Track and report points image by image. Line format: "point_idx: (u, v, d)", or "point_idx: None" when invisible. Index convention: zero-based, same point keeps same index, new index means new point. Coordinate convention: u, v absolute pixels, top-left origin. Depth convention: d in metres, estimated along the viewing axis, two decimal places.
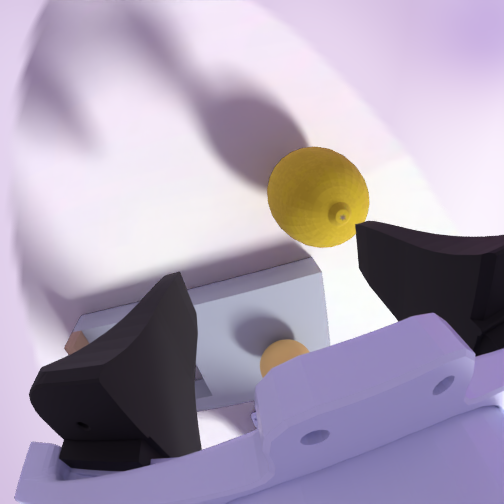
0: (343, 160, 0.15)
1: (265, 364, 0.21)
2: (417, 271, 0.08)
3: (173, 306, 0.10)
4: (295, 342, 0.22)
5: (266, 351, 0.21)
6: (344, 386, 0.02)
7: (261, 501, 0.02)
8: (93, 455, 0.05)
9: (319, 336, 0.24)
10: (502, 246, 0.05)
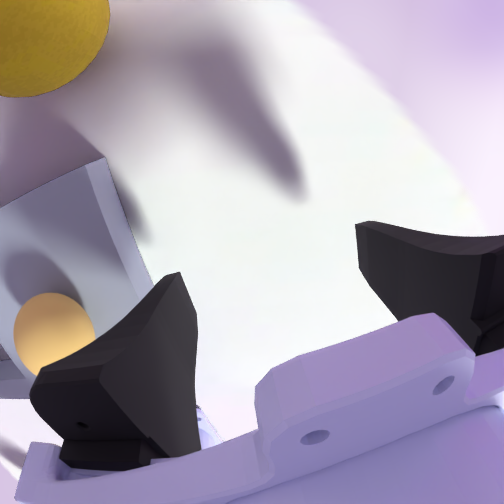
0: None
1: None
2: (417, 271, 0.08)
3: (173, 306, 0.10)
4: (56, 296, 0.11)
5: None
6: (344, 386, 0.02)
7: (261, 501, 0.02)
8: (93, 455, 0.05)
9: (121, 297, 0.13)
10: (502, 246, 0.05)
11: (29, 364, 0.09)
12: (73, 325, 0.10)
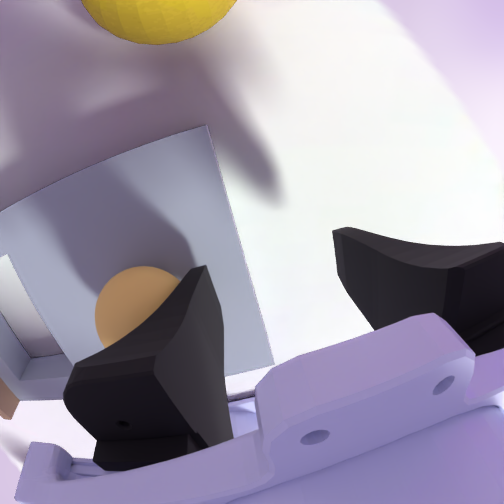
0: None
1: None
2: (388, 281, 0.08)
3: (204, 298, 0.10)
4: (156, 270, 0.11)
5: None
6: (344, 387, 0.02)
7: (261, 501, 0.02)
8: (133, 455, 0.05)
9: (227, 271, 0.13)
10: (473, 259, 0.05)
11: None
12: None
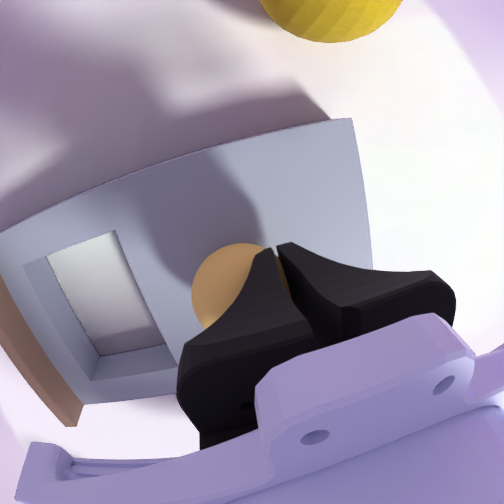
0: None
1: None
2: (312, 306, 0.08)
3: None
4: None
5: None
6: (344, 386, 0.02)
7: (261, 501, 0.02)
8: None
9: (356, 247, 0.14)
10: (376, 297, 0.05)
11: (191, 298, 0.11)
12: None
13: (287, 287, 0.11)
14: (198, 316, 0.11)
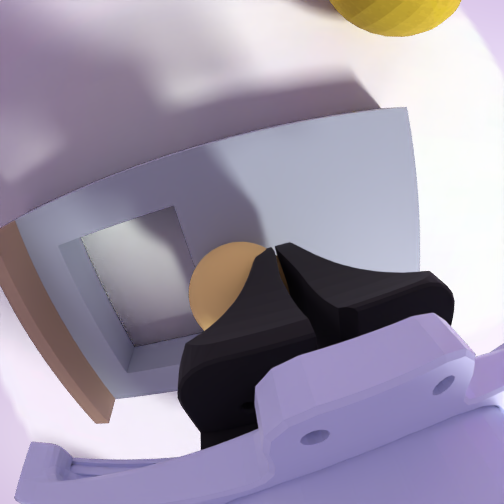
0: None
1: None
2: (310, 306, 0.08)
3: None
4: (219, 277, 0.10)
5: None
6: (344, 386, 0.02)
7: (261, 501, 0.02)
8: None
9: (407, 230, 0.14)
10: (374, 298, 0.05)
11: None
12: (190, 293, 0.11)
13: (215, 319, 0.10)
14: None
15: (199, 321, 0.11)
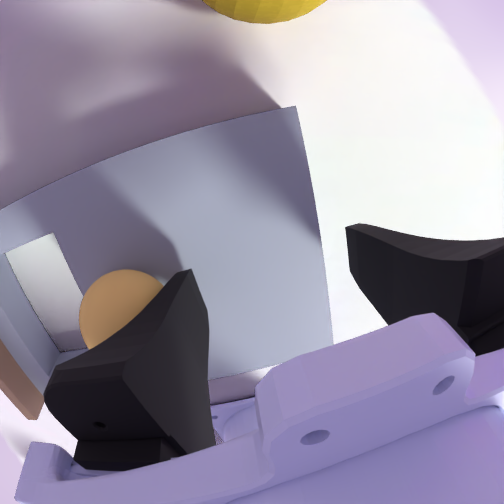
0: None
1: (136, 270, 0.12)
2: (405, 275, 0.08)
3: (187, 303, 0.10)
4: (109, 314, 0.09)
5: (149, 278, 0.11)
6: (344, 386, 0.02)
7: (261, 501, 0.02)
8: (110, 456, 0.05)
9: (304, 251, 0.13)
10: (490, 251, 0.05)
11: None
12: (84, 334, 0.09)
13: None
14: None
15: None
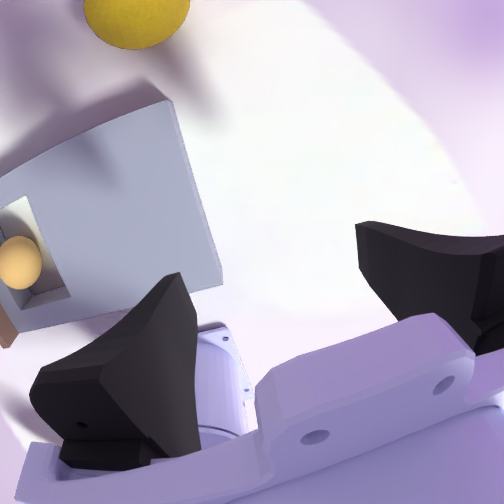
0: None
1: None
2: (417, 271, 0.08)
3: (173, 306, 0.10)
4: None
5: None
6: (344, 386, 0.02)
7: (261, 501, 0.02)
8: (93, 455, 0.05)
9: (181, 200, 0.17)
10: (502, 246, 0.05)
11: (7, 256, 0.16)
12: (33, 243, 0.18)
13: None
14: (17, 258, 0.16)
15: None
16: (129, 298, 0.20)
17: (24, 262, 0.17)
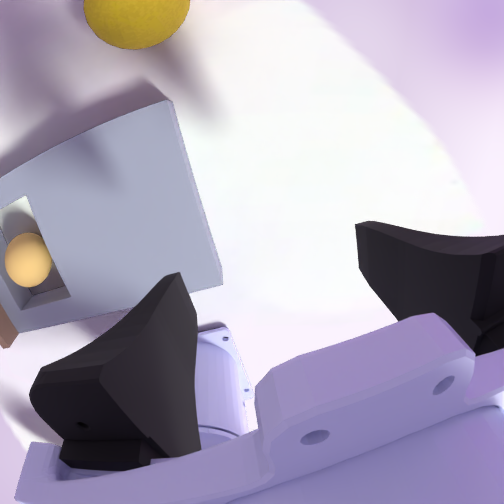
0: None
1: (6, 253, 0.16)
2: (417, 271, 0.08)
3: (173, 306, 0.10)
4: None
5: None
6: (344, 387, 0.02)
7: (261, 501, 0.02)
8: (93, 455, 0.05)
9: (181, 200, 0.17)
10: (502, 246, 0.05)
11: (27, 248, 0.16)
12: None
13: None
14: (37, 248, 0.17)
15: None
16: (129, 298, 0.20)
17: (44, 252, 0.18)
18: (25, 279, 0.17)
